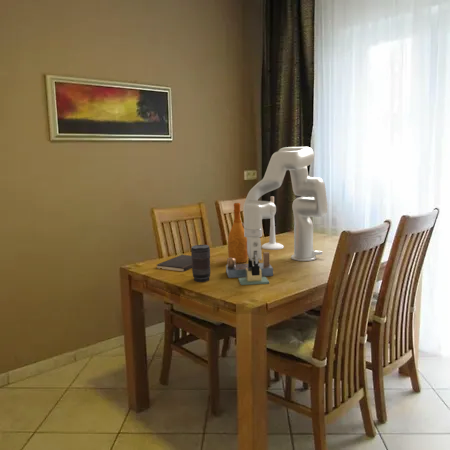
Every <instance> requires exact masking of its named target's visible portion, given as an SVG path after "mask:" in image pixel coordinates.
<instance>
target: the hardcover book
mask: <svg viewBox="0 0 450 450" xmlns="http://www.w3.org/2000/svg"><path fill="white" fill-rule="evenodd" d="M156 267H157V269H160V268H162V269H161V270H170V271H178V272H187V271H189V270H192V257H191V255H189V254H188V255H187V254H181V255H177V256H175V257H173V258H171V259H167V260H165V261H163V262H160V263H157V264H156Z"/></svg>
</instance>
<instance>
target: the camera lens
mask: <svg viewBox="0 0 450 450" xmlns="http://www.w3.org/2000/svg"><path fill="white" fill-rule="evenodd" d="M190 254H191V255H190V256H191V257H192V268H191V270H192V277H193V280H194V281H195V282H199V283H203V282H205V283H206V282H208V281H209V280H210V277H211V249H210V245H208V244H196V245H192V246H191V250H190Z"/></svg>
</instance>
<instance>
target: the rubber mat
mask: <svg viewBox="0 0 450 450" xmlns="http://www.w3.org/2000/svg"><path fill="white" fill-rule="evenodd" d="M237 278H238V282H239V284H240V286H245V285H247V286H248V285H269V284H270V280H268V277H267V276H262V281H252V282H248V281H247V280H246V277H237Z"/></svg>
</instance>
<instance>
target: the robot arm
mask: <svg viewBox="0 0 450 450" xmlns="http://www.w3.org/2000/svg"><path fill="white" fill-rule="evenodd" d="M314 158H315V152H314V151H313V149H312V148H311V147H309V146H288V147H287V146H285V147H282V148H279V150H277V151H275V152H274V153H273V154H272V155H271V157H270V160H269V162H268V165H267V168H266V171H265V173H264V176H263V178H262V179H261V180H259V181H258V182H257V183H256V184H255V185H254V186H253V187H252V188H251V189H249V191H248V193H247V194H246V195H247V196H246V198H245V200H244V203H243V224H244V237H247V264H248V268H249V267H252V275H253V276H255V275H260V266H259V263H260V261H263V260H262V259H263V254H262V248H261V246H262V241H261V238H262V237H263V220H268V219H271V218H272V217H273V216H274V217H275V215H276V212H277V206H276V204H275V202H274V203H272V202H271V201H268V200H259V199H260V198H261V197H262V196H264V195H265V194H267V193H269V192H272V191H275V190H277V189H279V188H280V187H281V186H282V184H283V182H284V178H285V176H286V173H287V171H289V173H290V180H291V186H292V191H293V194H294V195H295V196H297V197H296V198H295V199H294V200H293V202H292V205H291V206H292V212H293V220H294V224H293V225H294V227H293V228H294V230H293V231H294V233H293V234H294V236H293V239H294V240H293V241H294V242H293V244H294V245H293V249H294V251H293V254H292V255H291V256H290V258H291V259H292V260H293V261H297V262H298V261H299V262H308V261H309V262H311V261H314V260H316V259H317V256H321V255H323V251H322V250H315V249H314V223H313V220H312V219H311V217H313V218H323V217H325V216H326V215H327V213H328V199H327V198H328V197H327V191H326V190H327V189H326V184H325V182H324V180H323V179H322V178H321V177H318V176H317V177H316V176H313V177H312V176H309V171H308V166H310V165H311V164H312V163H313V161H314Z"/></svg>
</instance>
